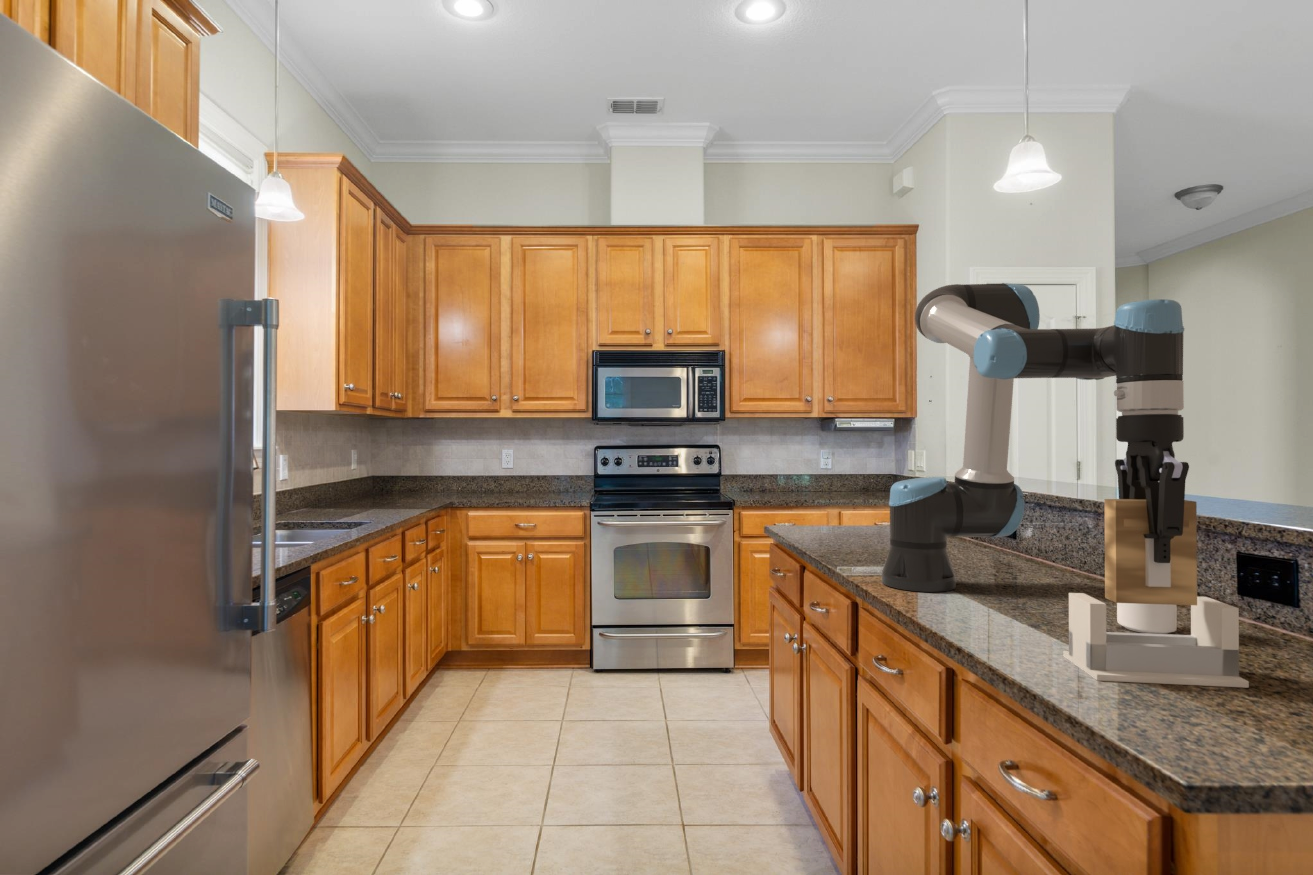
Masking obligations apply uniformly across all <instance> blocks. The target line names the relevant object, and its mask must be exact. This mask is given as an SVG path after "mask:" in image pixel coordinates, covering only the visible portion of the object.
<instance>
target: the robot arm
mask: <svg viewBox="0 0 1313 875" xmlns="http://www.w3.org/2000/svg"><path fill="white" fill-rule="evenodd" d="M1182 310H1183V309H1182V305H1181V304H1180V303H1179V302H1178V301H1176V300H1174V299H1168V298H1165V299H1162V298H1161V299H1156V298H1155V299H1145V300H1138V301H1133V302H1132V301H1131V302H1127V303H1124V304H1122V305H1119V307H1117V310H1116V311H1115V317H1114V318H1115V319H1114V322H1113V324H1114V325H1110V326H1105V327H1099V328H1047V329H1046V328H1039V327H1040V319H1041V318H1040V316H1041V315H1040V307H1039V303H1038V300H1037V298H1036V295H1034V292H1033V291H1032V290H1031V288H1029V287H1028V286H1026V285H1025V284H1019V283H1007V282H1006V283H1005V282H1002V283H976V284H975V283H970V284H958V283H957V284H947V285H944V286H940V287H938V288H936V289H933V290H932V291H930V292H928V293H927V294H926V295H925V296H923V298H922V299H921V300H920V302H919V303H918V304H917V306H916V310H915V313H914V323H915V326H916V328H917V330H918V332H919V333H920V335H922V336H923V337H924V338H926V339H927V340H930V341H931V342H934V343H936V344H947V345H950V346H952V347H954V348H956V349H957V350H959V351H961V352H963V353H964V354H967V355H968V357H969V365H968V366H969V367H968V368H969V370H968V383H967V398H966V415H965V416H966V417H965V418H966V419H965V430H964V431H965V433H964V443H963V444H964V446H963V458H962V459H963V461H962V464H963V465H962V467H961V468H960V469H958V470H957V471H956V472H955V474H954V481H953V482H954V483H948V481H947V479H946V478H945V477H943V476H931V477H930V476H928V477H917V478H910V479H903V480H899V481H896V482H893V484H892V485H891V487H890V490H889V501H888V506H889V550H888V553H887V556H886V559H885V562H884V565H883V568H882V570H881V583H882V584H883V585H885V586H886V587H890V588H894V589H897V590H903V591H904V590H905V591H911V592H921V593H922V592H924V593H926V592H927V593H928V592H929V593H930V592H931V593H933V592H934V593H937V592H938V593H939V592H946V591H952V590H954V589H956V587H957V586H956V585H957V582H956V579H957V577H956V574H955V572H954V568H953V565H952V563H951V560H950V557H949V554H948V548H947V547H948V546H947V542H948V541H947V539H948V538H986V539H991V538H998V537H1008V536H1010V535H1011V536H1012V534H1014V532H1015V531H1017V530H1018V529H1019V527H1020V526H1021V523H1022V521H1023V519H1024V516H1025V515H1024V513H1025V509H1026V508H1025V506H1026V505H1025V499H1023V498H1024V492H1023V491H1022V490H1023V489H1021V486H1019V485H1018V484H1015V477H1014V476H1013V475H1012V474H1011V472H1010V471H1009V470H1008V461H1009V460H1008V459H1009V449H1010V448H1009V445H1010V434H1011V419H1012V408H1013V407H1012V406H1013V394H1014V382H1015V381H1014V380H1015V379H1078V380H1084V381H1085V380H1086V381H1089V380H1090V381H1092V380H1096V381H1099V380H1103V379H1106V378H1111V377H1115V384H1116V389H1115V390H1114V392H1113V395H1114V396H1115V397H1116V411H1117V412H1119V413H1121V415H1118V416H1117V418H1115V423H1116V424H1115V428H1116V432H1115V434H1116V436H1115V438H1116V440H1117V441H1118V442H1121V443H1127V449H1126V452H1125V458H1123V459H1115V461H1114V466H1115V470H1116V473H1117V474H1116V475H1117V486H1118V487H1117V488H1118V499H1146V503H1147V514H1148V524H1149V534H1143V535H1144V537H1145V575H1146V586H1149V587H1171V556H1170V555H1171V553H1170V552H1171V550H1170V542H1171V539H1173V538H1174V537H1175V536H1181V535H1182V534H1183V520H1184V500H1186V499H1185V498H1186V497H1185V496H1186V479H1187V476H1188V473H1189V470H1190V465H1189V462H1187V461H1178V460H1177V459H1176V458H1175V457H1176V455H1175V454H1176V453H1175V452H1174V451H1175V450H1174V447H1173V443H1177V442H1182V441H1183V440H1184V434H1185V433H1184V428H1185V427H1184V423H1185V422H1184V417H1183V416H1182V414H1179V412H1180V411H1182V410H1184V408H1185V407H1184V402H1185V401H1184V380H1183V379H1184V378H1183V377H1184V332H1185V326H1184V324H1183V323H1184V322H1183V312H1182Z"/></svg>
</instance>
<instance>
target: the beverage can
mask: <svg viewBox="0 0 1313 875" xmlns="http://www.w3.org/2000/svg"><path fill="white" fill-rule="evenodd" d="M1177 606H1178V605H1168V604H1136V603H1116V620H1117V621H1116V622H1117V623H1118V624H1119V625H1120V626H1122V627H1123V628H1125V629H1127V630H1129V631H1133V632H1135V633H1146V634H1171V633H1174V632H1176V631H1178V630H1177V627H1178V626H1177V625H1178V624H1177V623H1178V622H1177V620H1178V618H1177V615H1178V614H1177V612H1178V609H1177V608H1178V607H1177Z"/></svg>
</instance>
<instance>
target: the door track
mask: <svg viewBox="0 0 1313 875" xmlns="http://www.w3.org/2000/svg"><path fill="white" fill-rule="evenodd" d="M1239 609H1240V608H1239V607H1237V606H1233V605H1232V604H1227V603H1225V602H1222V601H1219V600H1217V599H1213V598H1211V597H1209V596H1197V605H1190V634H1171V633H1168V634H1147V633H1140V632H1117V631H1114V632H1113V631H1107V603H1105V602H1103V601H1101V600H1098V599H1097V598H1095V597H1093V596H1091V595H1089V594H1087V593H1085V592H1068V650H1063V652H1062V654H1063V657H1064V658H1065V659H1067V660H1068V661H1069V662H1071V663H1072V664H1073V665H1075V666H1076V667H1078V668H1079V669H1080V670H1082V671H1083V672H1084V673H1085V674H1088V675H1089V676H1090V677H1092V678H1093V679H1094V680H1095V681H1099V682H1100V681H1101V682H1102V681H1103V682H1121V683H1123V682H1124V683H1141V684H1144V683H1145V684H1146V683H1147V684H1165V685H1181V686H1183V685H1184V686H1187V685H1188V686H1206V687H1224V688H1225V687H1226V688H1246V689H1247V688H1249V687H1250V685H1249V684H1250V682H1249V681H1248V680H1246V679H1245V678H1244V677H1241V676H1240V654H1239V653H1240V652H1239V651H1240V648H1239V647H1240V643H1239V642H1240V632H1239V629H1240V625H1239V620H1240V619H1239V618H1240V617H1239V616H1240V615H1239V613H1240V612H1239V611H1240V610H1239Z"/></svg>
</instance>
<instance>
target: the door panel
mask: <svg viewBox="0 0 1313 875" xmlns="http://www.w3.org/2000/svg"><path fill="white" fill-rule="evenodd" d="M1103 501H1104V598H1105V599H1107V600H1109V601H1111V602H1114V603H1115V604H1117V603H1136V604H1168V605H1177V606H1191V605H1197V597H1198V548H1197V547H1198V546H1197V544H1198V542H1197V541H1198V540H1197V539H1198V538H1197V535H1198V534H1197V532H1198V531H1197V530H1198V526H1197V520H1198V519H1197V510H1198V509H1197V501H1194V500H1193V501H1192V500H1187V499H1185V500H1184V520H1183V534H1182V535H1181V536H1175V537H1174V538H1173V539H1171V542H1170V550H1171V552H1170V553H1171V555H1170V556H1171V587H1149V586H1146V575H1145V537H1144V535H1143V534H1149V524H1148V514H1147V503H1146V499H1119V498H1104V500H1103Z"/></svg>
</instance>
